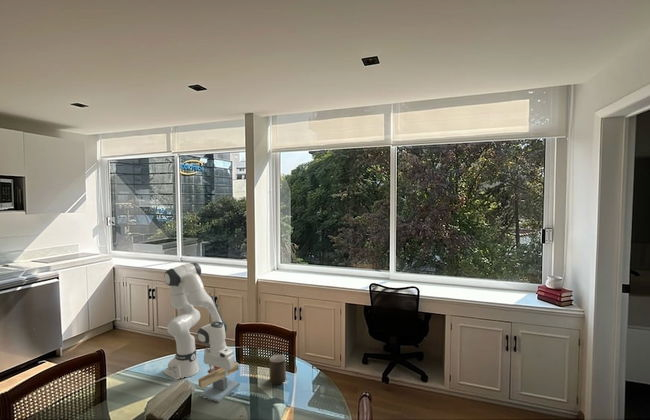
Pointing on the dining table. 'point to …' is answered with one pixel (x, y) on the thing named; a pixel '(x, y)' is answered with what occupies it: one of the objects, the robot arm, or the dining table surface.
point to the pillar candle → (277, 369)
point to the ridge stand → (220, 389)
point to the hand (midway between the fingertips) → (219, 373)
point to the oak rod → (216, 376)
